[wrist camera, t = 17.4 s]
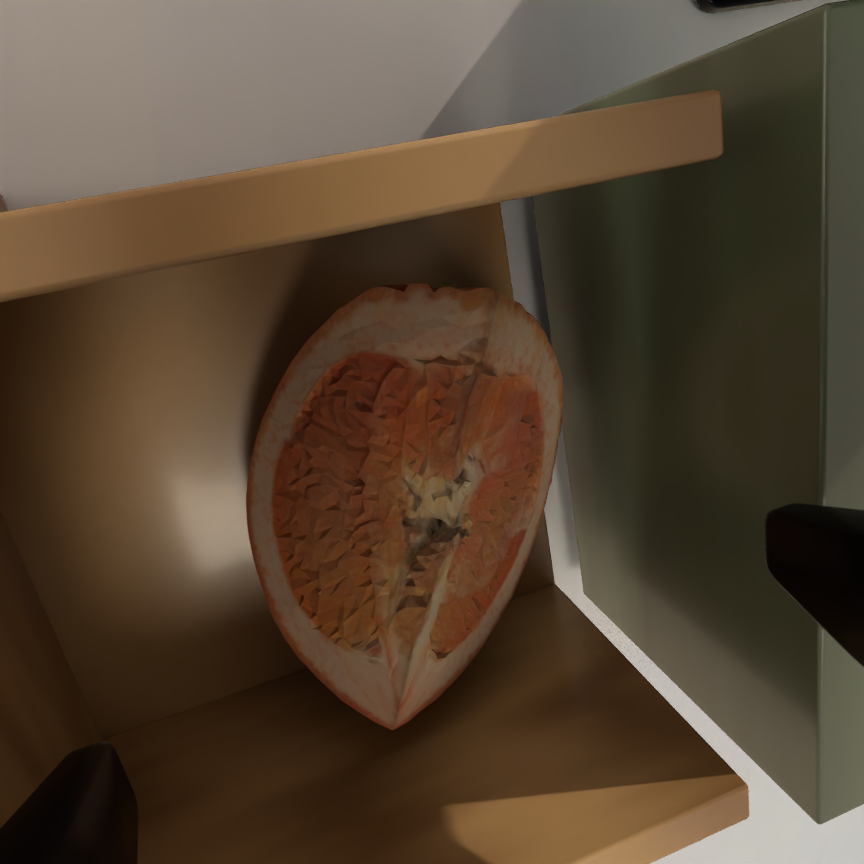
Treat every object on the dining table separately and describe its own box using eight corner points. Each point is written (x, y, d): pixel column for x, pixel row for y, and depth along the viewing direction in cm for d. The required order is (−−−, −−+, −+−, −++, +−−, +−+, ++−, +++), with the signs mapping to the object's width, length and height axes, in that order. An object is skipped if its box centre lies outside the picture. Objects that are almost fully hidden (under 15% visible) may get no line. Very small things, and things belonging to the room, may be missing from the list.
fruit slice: (286, 243, 14) (312, 240, 9) (556, 312, 16) (685, 338, 12) (220, 593, 16) (214, 738, 11) (474, 613, 18) (557, 739, 13)
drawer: (735, 91, 17) (1186, -51, 9) (749, 535, 21) (1064, 710, 13) (-138, 244, 13) (-792, 236, 5) (99, 764, 17) (-25, 1233, 9)
